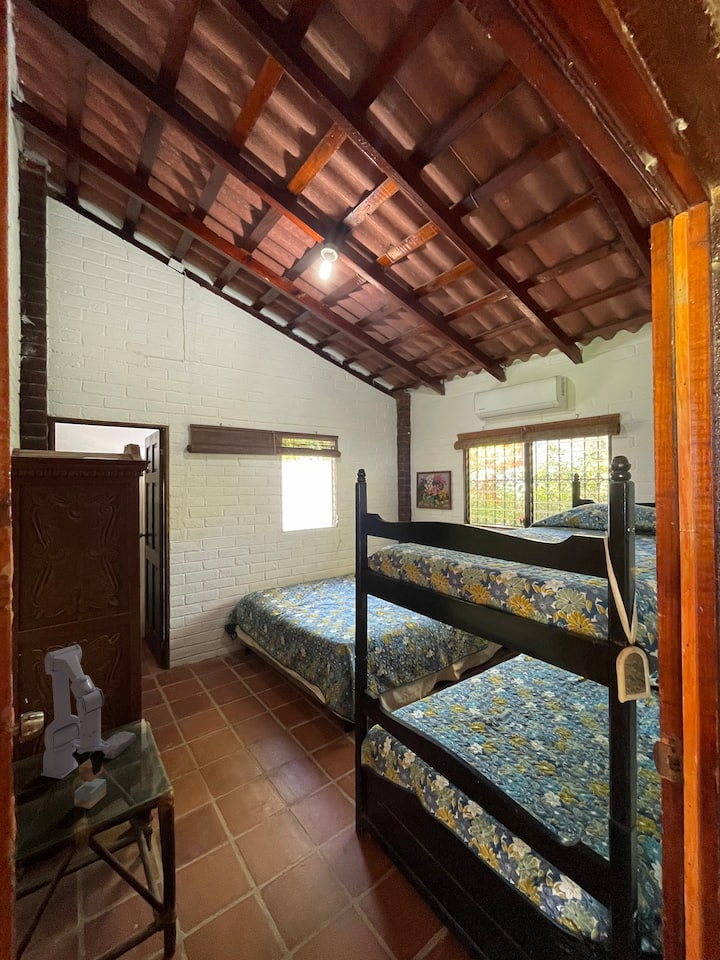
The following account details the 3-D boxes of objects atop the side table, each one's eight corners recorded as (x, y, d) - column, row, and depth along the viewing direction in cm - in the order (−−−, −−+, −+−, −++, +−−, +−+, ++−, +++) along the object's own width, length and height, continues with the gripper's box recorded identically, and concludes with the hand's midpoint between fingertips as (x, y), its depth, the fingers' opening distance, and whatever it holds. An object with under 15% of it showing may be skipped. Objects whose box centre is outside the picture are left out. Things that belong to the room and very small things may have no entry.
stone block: (92, 762, 148) (114, 760, 146) (90, 749, 148) (112, 746, 146) (117, 743, 159) (138, 740, 158) (116, 731, 160) (136, 728, 158)
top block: (74, 799, 125) (74, 791, 125) (90, 785, 131) (90, 777, 131) (91, 801, 124) (90, 793, 124) (106, 787, 130) (106, 779, 130)
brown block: (74, 806, 125) (74, 799, 125) (91, 792, 131) (91, 785, 131) (89, 810, 124) (89, 802, 124) (106, 795, 130) (106, 787, 130)
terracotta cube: (79, 780, 126) (79, 766, 126) (91, 770, 131) (91, 756, 131) (90, 782, 125) (90, 768, 125) (102, 772, 130) (102, 758, 130)
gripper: (61, 734, 126) (61, 777, 125) (97, 740, 123) (98, 783, 122) (81, 721, 133) (81, 762, 132) (116, 726, 129) (116, 768, 129)
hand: (90, 771), depth 128 cm, fingers closed on terracotta cube, 4 cm apart
